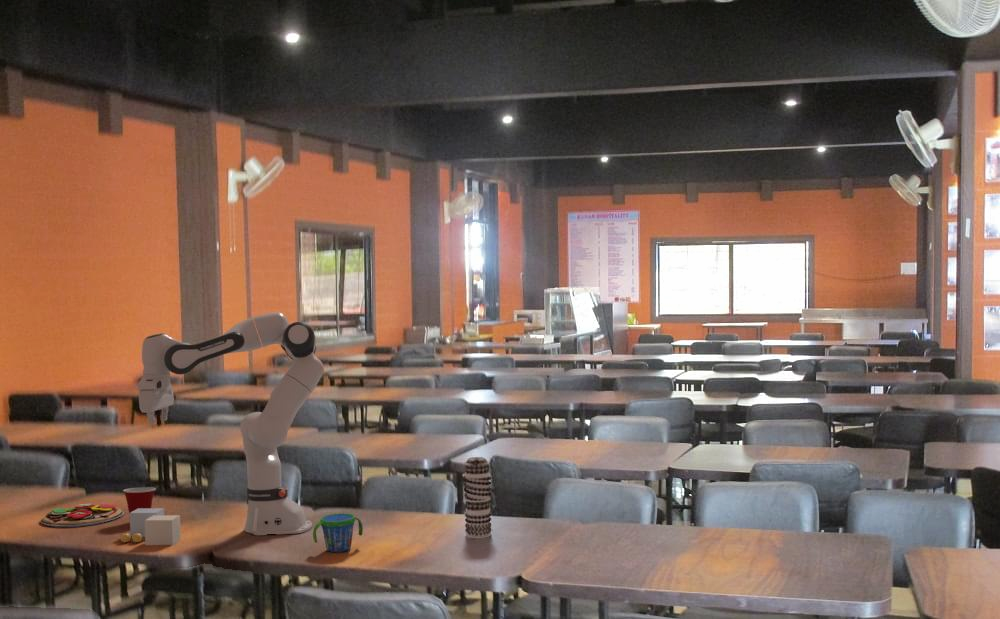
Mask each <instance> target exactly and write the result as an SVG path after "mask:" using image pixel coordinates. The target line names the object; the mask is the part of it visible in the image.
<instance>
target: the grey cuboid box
mask: <svg viewBox="0 0 1000 619" xmlns="http://www.w3.org/2000/svg"><path fill="white" fill-rule="evenodd" d="M144 539H145V540H144V541H145V542H144V543H145V544H144V545H145V546H174V545H175V544H177V543H178V542H180V541H181V539H182V537H181V515H174V514H173V515H170V514H169V515H168V514H167V515H165V514H164V515H154V516H151V517H150V518H148V519H146V520H145V537H144ZM179 540H180V541H179Z"/></svg>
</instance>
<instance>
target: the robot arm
mask: <svg viewBox="0 0 1000 619" xmlns="http://www.w3.org/2000/svg"><path fill="white" fill-rule="evenodd" d="M314 331H315V330H313V328H312V327H311V325H309V324H308V323H307V322H303V321H294V322H292V323H290V322H289V320H288V318H287V317H286V316H285V314H283V313H282V312H280V311H279V312H270V313H269V312H268V313H264V314H259V315H257V316H256V315H255V316H253V317H250V318H246V319H244V320H243V321H241V322H238V323H237V324H234V325H233V326H231V327H230V329H228V330H226V331H225V332H224V333H223V334H220V335H219V336H217V337H214V338H210V339H207V340H205V341H202V342H198V343H195V344H194V343H193V344H191V343H189V342H185V341H180V340H177V339H175V338H173V337H171V336H169V335H168V334H167V333H157V334H152V335H148V336H146V338H144V339H143V342H142V346H141V361H142V362H141V363H142V365H143V369H142V378H141V379H140V381H139V382H138V383H137V384H136V385H137V386H136V388H137V391H138V405H139V410H140V412H141V413H144V414H145V413H146V417H147V418H148V424H149V425H150V426H153V425H156V424H157V419H156V418H155V412H156V411H161V414H160V421H167V420H168V412H169V410H170V409H169V407H171V406H173V405H174V403H175V398H174V396H175V395H174V388H173V385H172V384H171V373H173V374H175V375H185V374H188V373H189V372H192V370H193V369H194V368H195V367H197V366H198V365H200V364H201V363H203V362H206V361H208V360H211V359H215V358H218V357H221V356H223V355H226V354H232V353H234V354H235V353H242V352H250V351H254V350H259V349H262V348H266V347H268V346H270V345H271V346H272V345H280V347H281V348H282V350H283V351H284V352H285V353H286V355H287V357H288V358H289V359H290V360H292V364H291V366H290V367H289V369H288V370H287V371H286V372H285V374H284V375H283V376H282V377H281V379H280V380H279V382H278V383H277V384H276V386H275V387H274V388H273V389H272V391H271V393H270V397H269V399H268V401H267V404H266V405H265V406H264V407H265V408H264V409H263V410H262V412H261V411H253V412H251V413H249V414H246V415H245V416H244V417H243V418H242V420H241V421H240V425H239V430H240V433H241V436H242V444H243V451H244V453H245V459H246V467H247V468H246V470H247V488H246V494H245V495H246V504H247V513H246V520H245V525H244V528H243V531H244V532H246V533H249V534H252V535H254V536H268V535H267V534H276V535H288V534H290V535H291V534H294V535H295V534H302V533H305V532H307V531H309V530H310V529H311V528H312V527H313V522H312V521H311V520H307V519H306V514H305V510H304V507H302V506H301V505H300V504H298V503H297V502H295V501H294V500H293V499H291V498H290V497H288V491H289V487H285V486H283V485H282V464H281V462H282V461H281V460H280V457H279V453H278V447H280V446H282V445H283V444H284V443H285V442H286V439H287V438H288V432H289V429H290V428H291V426H292V423H293V422H294V420H295V417H296V416H297V414H298V412H299V410H300V409H301V408H302V406H303V405H304V404H305V402H306V400H307V399H308V398H309V397H310V396H311V394H312V393H313V392H314V390H315V388H316V387H317V386H318V383H319V382H320V380H321V378H322V376H323V374H324V372H325V366H324V364H323V362H322V361H321V359H319V358H318V357H317V356H316V355H315V353H316V351H317V337H316V335H315V332H314Z"/></svg>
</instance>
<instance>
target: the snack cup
mask: <svg viewBox="0 0 1000 619" xmlns="http://www.w3.org/2000/svg"><path fill="white" fill-rule="evenodd" d="M356 520H357V521H358V535H359V536H362V535H363V532H364V527H363V523H362V521H361V519H359V518H358V517H357V516H355V515H354V514H351V513H344V512H343V513H341V512H339V513H331V514H327V515H324V516H322V517H320V520H319V521H318V522H317V523H316V524H315V526H314V527H313V528H314V529H313V532H312V538H313V542H314V543H316V544H317V543H318V539H317V531H318V530H317V529H318V528H319V527H320V526H321V528H322V531H323V538H324V543H325V548H326V551H327V552H331V553H342V552H343V553H344V552H346V551H349V550H350V549H351V547H352V542H353V540H352V539H353V536H354V535H353V534H354V533H353V532H354V525H355V521H356Z"/></svg>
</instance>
